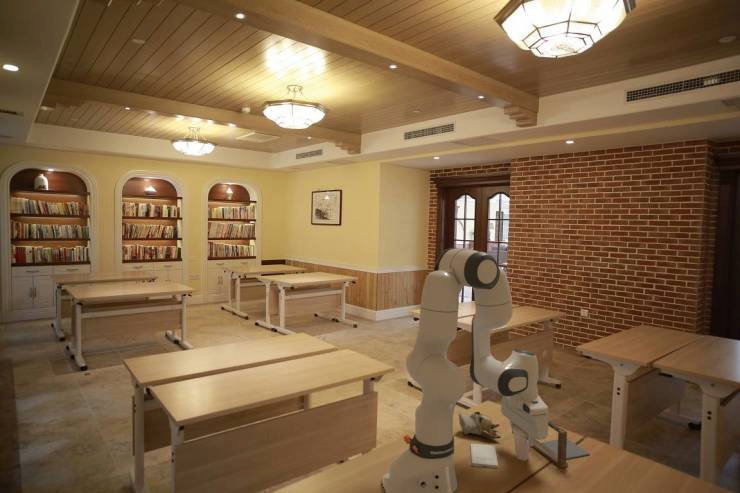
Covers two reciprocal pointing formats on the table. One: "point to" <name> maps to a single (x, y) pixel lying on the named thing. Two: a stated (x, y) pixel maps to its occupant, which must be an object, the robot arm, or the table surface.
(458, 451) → the table surface
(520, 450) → the smoothie
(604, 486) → the table surface
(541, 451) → the bar hurdle
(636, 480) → the table surface
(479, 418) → the ceramic sculpture
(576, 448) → the mat
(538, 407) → the robot arm
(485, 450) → the external hard drive
